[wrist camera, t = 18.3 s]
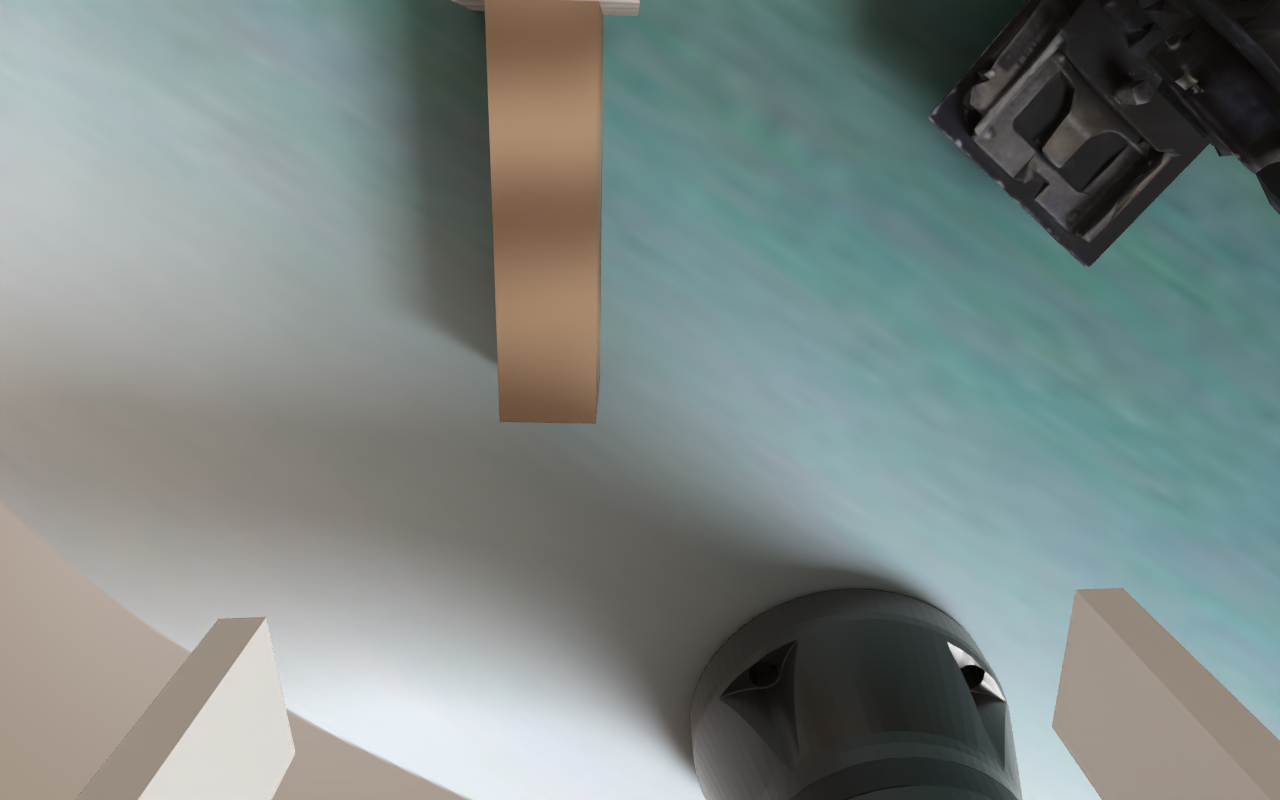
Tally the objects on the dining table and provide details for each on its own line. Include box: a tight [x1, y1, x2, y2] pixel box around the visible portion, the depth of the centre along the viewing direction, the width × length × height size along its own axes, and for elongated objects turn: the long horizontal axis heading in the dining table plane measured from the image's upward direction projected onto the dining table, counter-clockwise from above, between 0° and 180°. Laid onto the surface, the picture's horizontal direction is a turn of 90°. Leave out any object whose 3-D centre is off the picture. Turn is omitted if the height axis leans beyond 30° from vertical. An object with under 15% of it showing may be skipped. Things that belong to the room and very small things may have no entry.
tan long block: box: [452, 0, 640, 423], centre depth 30 cm, size 15×6×5 cm, turn 178°
